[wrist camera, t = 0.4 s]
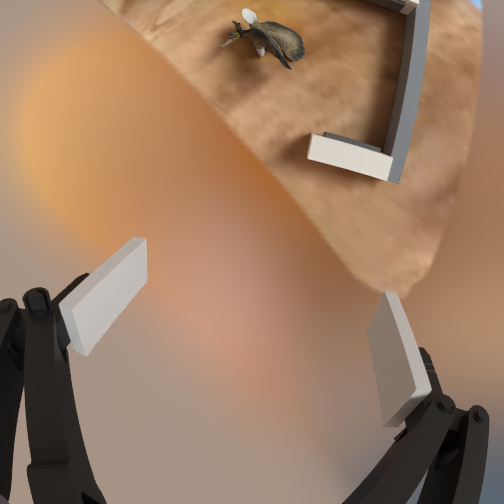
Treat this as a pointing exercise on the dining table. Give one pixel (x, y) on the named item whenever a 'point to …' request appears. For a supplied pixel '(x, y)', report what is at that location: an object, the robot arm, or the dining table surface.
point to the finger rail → (403, 113)
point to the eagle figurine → (269, 38)
